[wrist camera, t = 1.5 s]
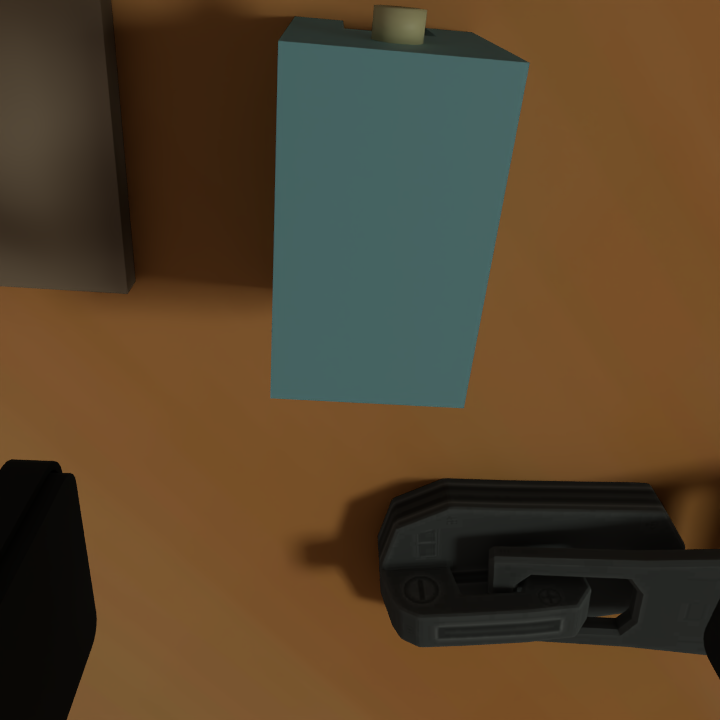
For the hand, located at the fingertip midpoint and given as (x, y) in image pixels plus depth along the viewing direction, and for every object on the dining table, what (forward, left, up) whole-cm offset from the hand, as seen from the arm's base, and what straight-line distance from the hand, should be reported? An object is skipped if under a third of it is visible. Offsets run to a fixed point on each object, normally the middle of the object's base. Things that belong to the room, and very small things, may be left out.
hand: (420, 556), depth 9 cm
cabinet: (0, 0, -19) cm, 19 cm away
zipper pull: (+17, +15, -19) cm, 30 cm away
